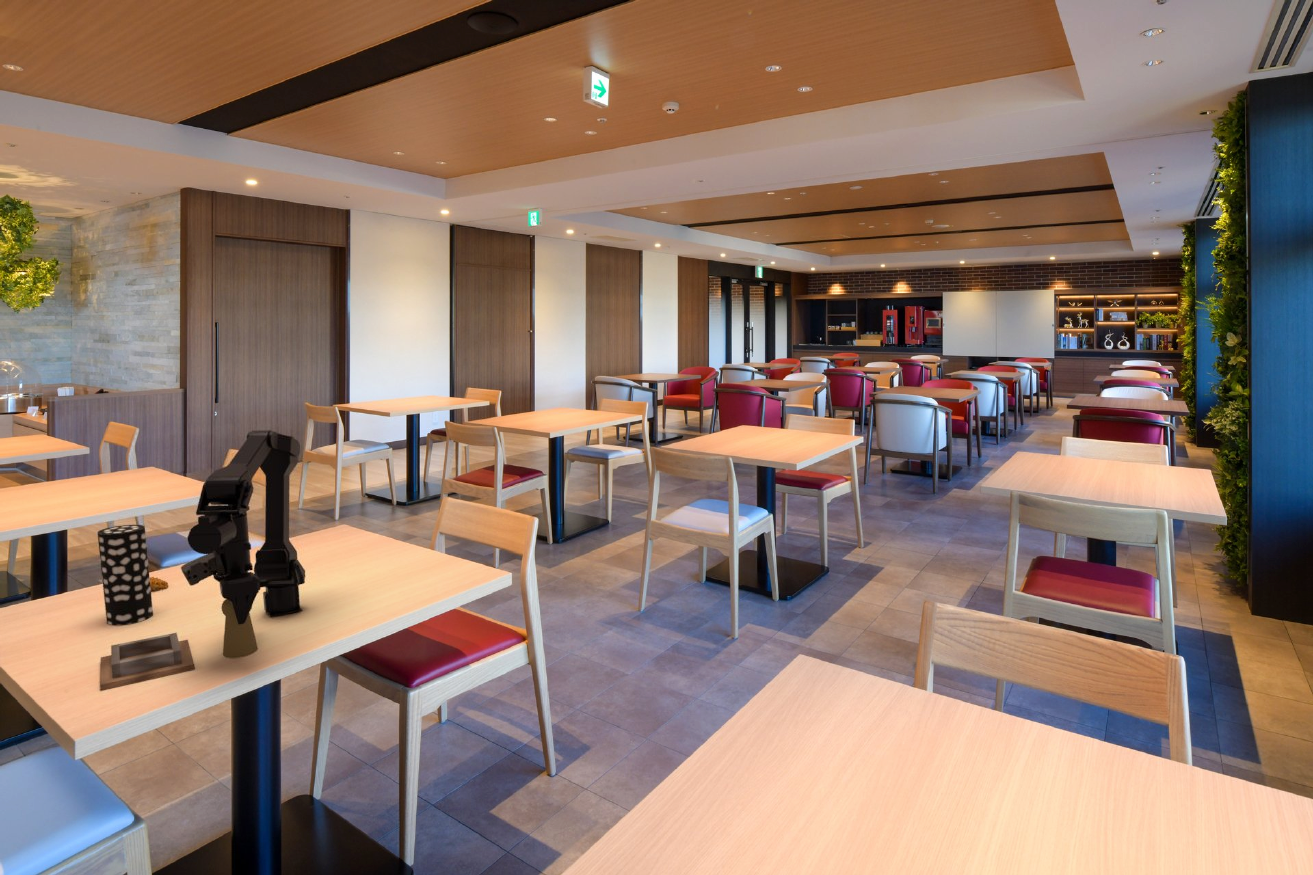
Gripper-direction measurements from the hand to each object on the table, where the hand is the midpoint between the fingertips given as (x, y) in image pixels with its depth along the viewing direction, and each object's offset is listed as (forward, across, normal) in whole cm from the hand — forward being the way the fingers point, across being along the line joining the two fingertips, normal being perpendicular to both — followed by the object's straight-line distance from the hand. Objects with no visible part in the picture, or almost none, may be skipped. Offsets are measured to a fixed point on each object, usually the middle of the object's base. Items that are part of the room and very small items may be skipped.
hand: (238, 616), depth 144 cm
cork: (+7, 0, 0) cm, 7 cm away
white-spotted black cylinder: (+7, -34, -17) cm, 39 cm away
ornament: (+8, -53, -15) cm, 56 cm away
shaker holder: (+7, -3, -15) cm, 17 cm away
